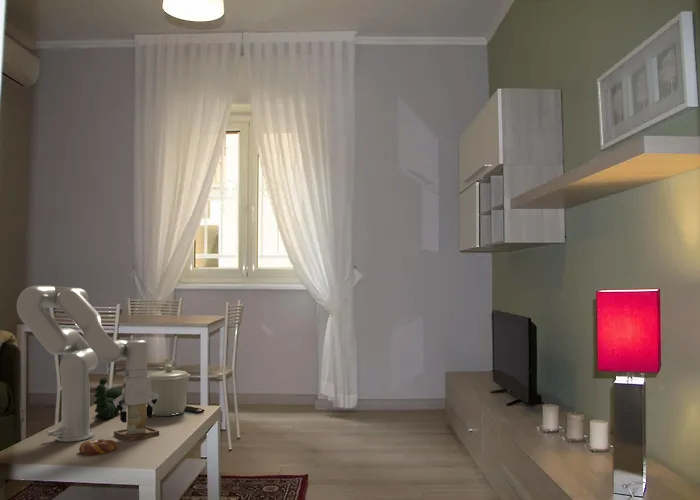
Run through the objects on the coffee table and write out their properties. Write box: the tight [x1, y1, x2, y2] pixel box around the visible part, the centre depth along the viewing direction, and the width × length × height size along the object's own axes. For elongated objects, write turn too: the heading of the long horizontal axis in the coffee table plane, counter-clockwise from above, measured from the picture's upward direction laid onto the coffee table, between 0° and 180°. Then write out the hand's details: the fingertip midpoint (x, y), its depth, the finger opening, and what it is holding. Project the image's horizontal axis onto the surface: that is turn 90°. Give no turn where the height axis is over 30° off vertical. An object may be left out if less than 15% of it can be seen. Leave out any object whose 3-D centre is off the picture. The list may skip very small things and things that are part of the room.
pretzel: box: [78, 438, 119, 456], centre depth 198 cm, size 12×11×4 cm
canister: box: [148, 364, 191, 417], centre depth 251 cm, size 18×18×21 cm
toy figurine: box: [93, 376, 122, 419], centre depth 249 cm, size 9×19×25 cm
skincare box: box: [126, 403, 147, 435], centre depth 217 cm, size 6×4×12 cm
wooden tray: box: [113, 425, 160, 443], centre depth 216 cm, size 12×12×2 cm
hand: (136, 419), depth 217 cm, fingers open, 9 cm apart
